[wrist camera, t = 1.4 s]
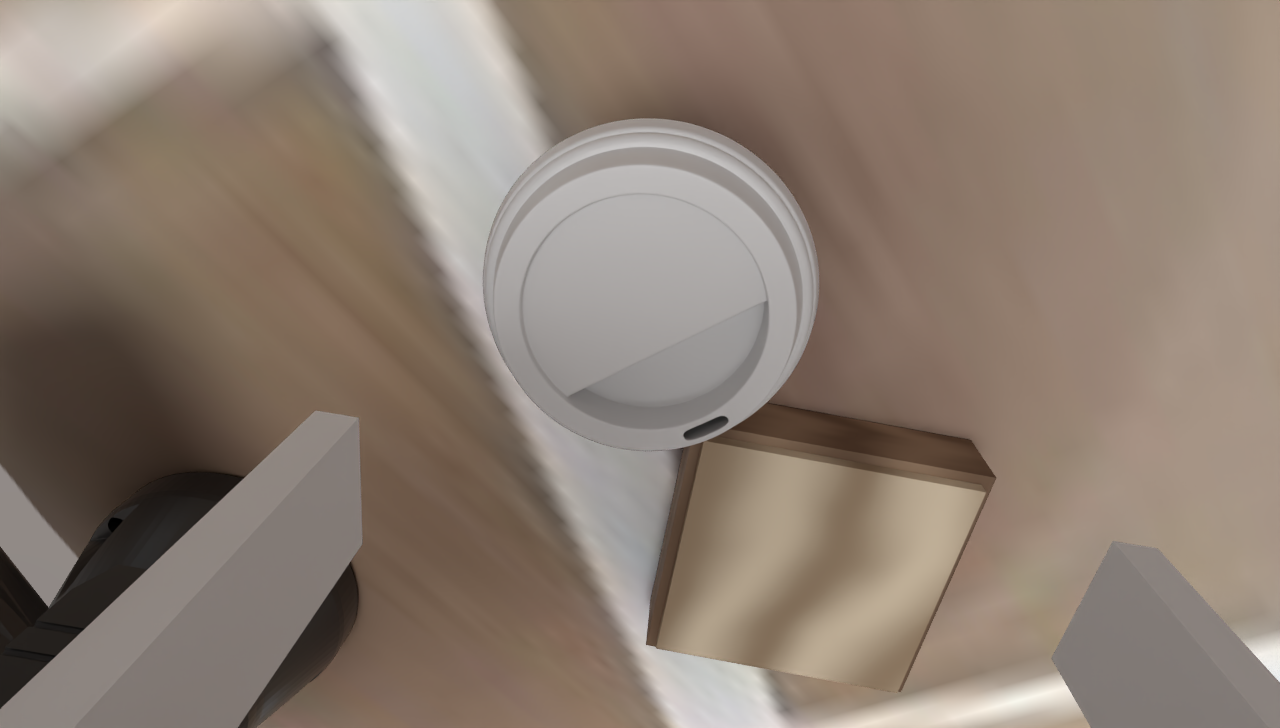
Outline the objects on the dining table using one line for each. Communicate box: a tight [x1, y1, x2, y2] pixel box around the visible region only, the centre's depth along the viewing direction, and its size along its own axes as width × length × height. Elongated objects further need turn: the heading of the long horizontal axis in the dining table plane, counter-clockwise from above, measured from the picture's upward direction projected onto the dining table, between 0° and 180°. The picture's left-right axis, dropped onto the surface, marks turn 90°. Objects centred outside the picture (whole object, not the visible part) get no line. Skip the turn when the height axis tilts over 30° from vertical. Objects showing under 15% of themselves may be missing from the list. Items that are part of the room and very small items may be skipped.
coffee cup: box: [483, 118, 819, 451], centre depth 25 cm, size 10×10×15 cm
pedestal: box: [646, 403, 996, 693], centre depth 37 cm, size 14×14×4 cm
